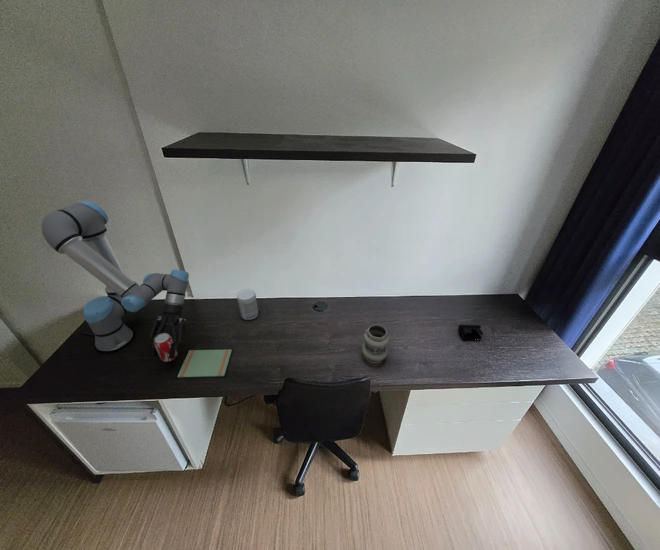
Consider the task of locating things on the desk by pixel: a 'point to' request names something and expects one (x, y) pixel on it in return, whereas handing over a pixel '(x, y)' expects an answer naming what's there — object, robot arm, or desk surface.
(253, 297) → the supplement tub
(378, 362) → the apothecary jar
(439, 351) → the desk surface
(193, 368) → the towel
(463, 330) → the end cap
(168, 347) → the soda can
